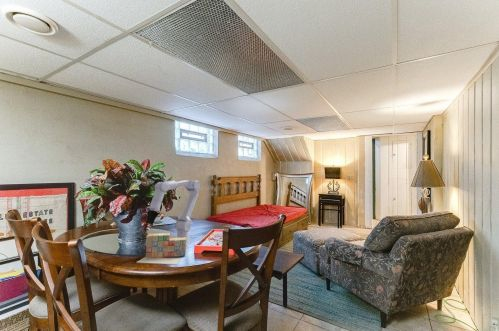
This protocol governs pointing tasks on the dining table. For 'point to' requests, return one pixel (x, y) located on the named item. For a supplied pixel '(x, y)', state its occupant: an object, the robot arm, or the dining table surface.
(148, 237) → the stack of blocks
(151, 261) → the mat
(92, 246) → the dining table surface
